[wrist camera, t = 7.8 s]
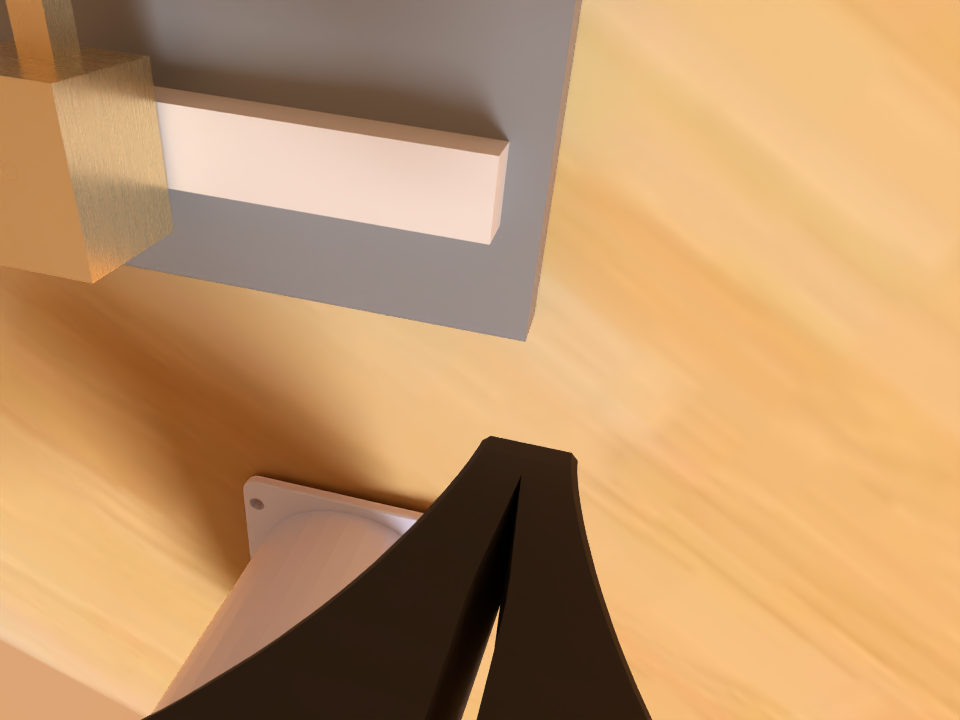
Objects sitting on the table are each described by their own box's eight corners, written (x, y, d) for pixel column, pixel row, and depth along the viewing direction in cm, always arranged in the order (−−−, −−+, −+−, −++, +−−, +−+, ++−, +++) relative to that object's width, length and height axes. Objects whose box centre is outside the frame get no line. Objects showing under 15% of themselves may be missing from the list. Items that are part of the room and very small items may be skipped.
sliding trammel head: (199, 214, 19) (92, 283, 15) (93, 195, 19) (-35, 258, 16) (158, -138, 15) (0, -154, 11) (25, -153, 15) (-167, -172, 12)
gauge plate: (534, 315, 20) (492, 439, 15) (-156, 186, 23) (-371, 257, 18) (619, -246, 14) (593, -329, 9) (-351, -327, 17) (-758, -422, 12)
